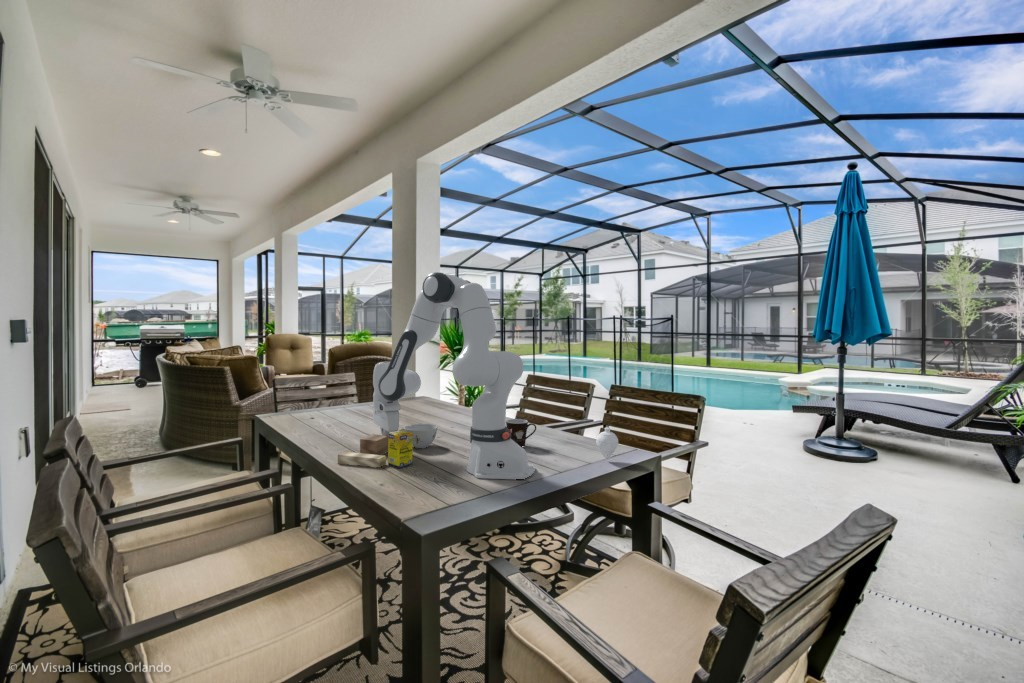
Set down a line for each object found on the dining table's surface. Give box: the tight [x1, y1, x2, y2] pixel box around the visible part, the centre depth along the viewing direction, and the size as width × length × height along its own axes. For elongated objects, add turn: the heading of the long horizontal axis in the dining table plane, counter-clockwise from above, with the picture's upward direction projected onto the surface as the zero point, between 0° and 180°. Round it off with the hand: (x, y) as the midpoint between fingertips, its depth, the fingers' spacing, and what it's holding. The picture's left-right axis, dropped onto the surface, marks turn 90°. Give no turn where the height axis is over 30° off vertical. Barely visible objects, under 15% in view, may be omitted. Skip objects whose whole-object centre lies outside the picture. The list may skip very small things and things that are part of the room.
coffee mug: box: [505, 418, 537, 447], centre depth 183 cm, size 12×9×10 cm
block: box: [359, 433, 388, 455], centre depth 172 cm, size 7×8×6 cm
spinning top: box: [595, 427, 619, 460], centre depth 164 cm, size 8×8×12 cm
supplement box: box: [387, 430, 414, 469], centre depth 158 cm, size 6×6×11 cm
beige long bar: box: [337, 451, 387, 468], centre depth 159 cm, size 16×4×3 cm, turn 75°
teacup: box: [399, 423, 439, 449], centre depth 182 cm, size 15×12×8 cm
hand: (385, 439), depth 179 cm, fingers closed
